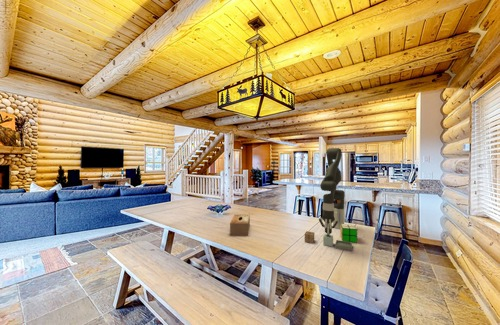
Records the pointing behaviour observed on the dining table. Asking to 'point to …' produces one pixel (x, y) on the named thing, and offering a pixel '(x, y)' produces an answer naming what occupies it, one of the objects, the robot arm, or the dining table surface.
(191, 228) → the dining table surface
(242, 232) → the tissue box cover
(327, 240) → the slate block
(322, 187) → the robot arm
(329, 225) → the cylinder
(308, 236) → the brown cardboard cube
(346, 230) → the puzzle cube
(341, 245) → the tray
